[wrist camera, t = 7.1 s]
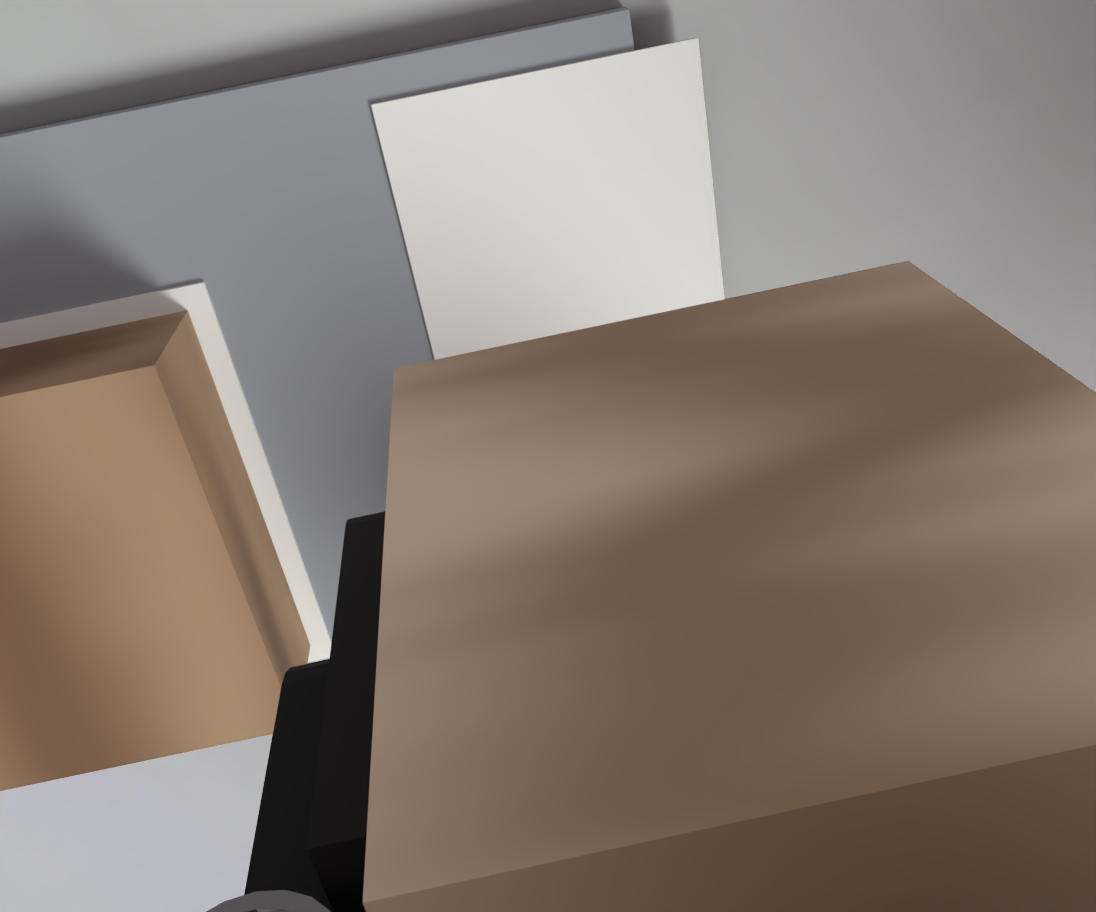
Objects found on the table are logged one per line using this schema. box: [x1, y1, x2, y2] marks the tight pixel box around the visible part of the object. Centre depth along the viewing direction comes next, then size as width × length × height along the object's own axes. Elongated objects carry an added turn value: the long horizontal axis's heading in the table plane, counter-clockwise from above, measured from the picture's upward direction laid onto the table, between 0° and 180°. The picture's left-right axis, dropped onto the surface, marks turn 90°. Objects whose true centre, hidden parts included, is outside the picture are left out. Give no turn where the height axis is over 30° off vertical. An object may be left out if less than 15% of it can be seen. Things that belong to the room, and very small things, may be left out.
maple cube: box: [363, 261, 1096, 912], centre depth 8 cm, size 5×5×6 cm
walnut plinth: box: [0, 310, 310, 791], centre depth 22 cm, size 9×9×3 cm
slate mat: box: [0, 7, 724, 662], centre depth 23 cm, size 21×14×1 cm, turn 100°
